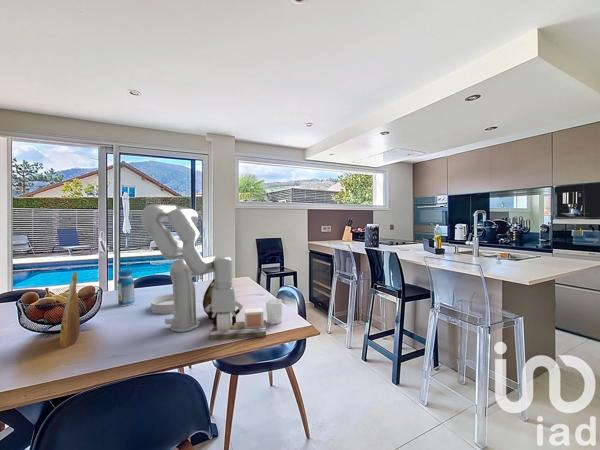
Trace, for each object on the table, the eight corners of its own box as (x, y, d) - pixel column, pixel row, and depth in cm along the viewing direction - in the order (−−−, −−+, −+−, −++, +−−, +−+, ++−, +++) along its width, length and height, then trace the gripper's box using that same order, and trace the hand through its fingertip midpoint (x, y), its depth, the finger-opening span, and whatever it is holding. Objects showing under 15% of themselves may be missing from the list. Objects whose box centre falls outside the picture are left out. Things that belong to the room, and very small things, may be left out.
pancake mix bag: (85, 330, 132) (82, 269, 130) (78, 346, 115) (75, 277, 114) (66, 333, 128) (63, 271, 127) (57, 351, 112) (53, 279, 111)
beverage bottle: (129, 306, 165) (127, 271, 164) (114, 306, 165) (113, 271, 164) (137, 301, 173) (136, 268, 173) (124, 301, 174) (122, 268, 173)
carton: (244, 328, 125) (244, 313, 125) (245, 324, 131) (245, 309, 130) (263, 327, 126) (263, 312, 126) (263, 323, 132) (263, 308, 131)
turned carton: (219, 324, 131) (219, 309, 130) (231, 323, 131) (231, 308, 131) (216, 331, 123) (216, 315, 122) (229, 331, 123) (228, 314, 123)
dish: (200, 301, 173) (200, 293, 172) (181, 314, 151) (181, 305, 150) (165, 301, 175) (164, 293, 175) (141, 314, 153) (141, 304, 153)
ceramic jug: (226, 324, 136) (225, 261, 135) (197, 322, 140) (195, 260, 138) (241, 311, 153) (239, 255, 152) (214, 310, 156) (212, 255, 155)
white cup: (284, 319, 141) (284, 299, 141) (279, 325, 134) (279, 304, 133) (269, 318, 144) (269, 298, 143) (263, 323, 136) (263, 303, 135)
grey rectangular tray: (209, 340, 119) (209, 332, 119) (215, 327, 132) (215, 320, 132) (265, 336, 122) (265, 329, 122) (265, 324, 135) (265, 317, 135)
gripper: (201, 288, 121) (202, 329, 122) (243, 286, 123) (244, 327, 124) (204, 283, 129) (205, 323, 130) (244, 282, 131) (245, 320, 132)
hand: (224, 324), depth 127 cm, fingers open, 7 cm apart
